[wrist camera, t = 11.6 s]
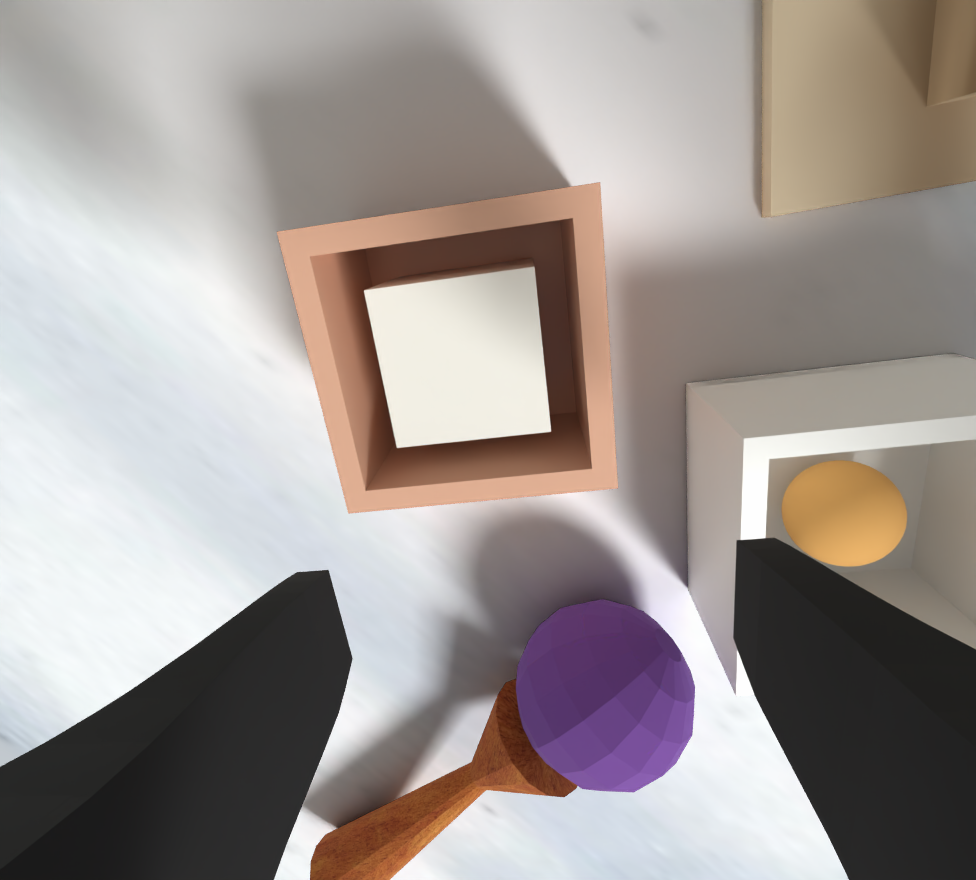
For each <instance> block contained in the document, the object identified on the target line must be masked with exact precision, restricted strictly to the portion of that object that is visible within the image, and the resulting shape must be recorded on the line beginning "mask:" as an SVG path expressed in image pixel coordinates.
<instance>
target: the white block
mask: <svg viewBox="0 0 976 880" xmlns="http://www.w3.org/2000/svg"><path fill="white" fill-rule="evenodd" d="M364 294H365V299H366V303H367V308H368V313H369V318H370V322H371V327H372V332H373V337H374V341H375V346H376V351H377V356H378V360H379V365H380V370H381V375H382V380H383V384H384V389H385V394H386V399H387V403H388V408H389V413H390V418H391V422H392V427H393V432H394V437H395V441H396V446H397V448H402V447H411V446H421V445H430V444H440V443H449V442H459V441H468V440H478V439H487V438H497V437H506V436H516V435H525V434H535V433H544V432H551V425H550V415H549V405H548V395H547V385H546V375H545V366H544V356H543V346H542V336H541V326H540V316H539V307H538V297H537V287H536V277H535V267H534V263H533V259H532V258H528V259H521V260H514V261H507V262H499V263H492V264H485V265H478V266H471V267H464V268H457V269H449V270H442V271H435V272H428V273H421V274H414V275H407V276H400V277H397V278H395V279H392V280H389V281H387V282H384V283H382V284H379V285H376V286H374V287H371V288H369V289H366V290H364Z"/></svg>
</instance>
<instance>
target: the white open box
mask: <svg viewBox="0 0 976 880" xmlns="http://www.w3.org/2000/svg"><path fill="white" fill-rule="evenodd" d="M686 431H687V543H688V591H689V593H690V595H691V597H692V600H693V602H694V604H695V606H696V608H697V611H698V613H699V615H700V617H701V619H702V622H703V624H704V626H705V628H706V631H707V633H708V635H709V637H710V639H711V642H712V644H713V646H714V648H715V650H716V653H717V655H718V657H719V659H720V662H721V664H722V666H723V668H724V670H725V673H726V675H727V677H728V679H729V681H730V684H731V686H732V688H733V690H734V693H735V695H736V696H742V695H754V692H753V690H752V687H751V685H750V682H749V679H748V677H747V674H746V672H745V669H744V666H743V664H742V661H741V658H740V655H739V653H738V650H737V647H736V644H735V642H734V639H733V629H734V599H735V570H736V541H737V540H746V539H760V538H777V539H779V540H780V541H782V542H784V543H786V544H788V545H790V546H792V547H793V548H795V549H797V550H799V551H800V552H802V553H804V554H806V555H807V556H809V557H811V556H810V555H808V554H807V553H805V552H804V551H803V550H801V549H800V548H799V547H798V546H797V545H796V544H795V543H794V541H793V540H792V539H791V537H790V536H789V534H788V532H787V531H786V528H785V526H784V523H783V519H782V509H781V507H782V500H783V496H784V494H785V491H786V489H787V487H788V486H789V484H790V483H791V482H792V480H793V479H794V478H795V477H796V476H797V475H798V474H800V473H801V472H802V471H804V470H805V469H807V468H809V467H811V466H813V465H816V464H818V463H822V462H826V461H834V460H845V461H853V462H858V463H861V464H864V465H867V466H870V467H872V468H874V469H876V470H877V471H879V472H881V473H882V474H884V475H885V476H886V477H887V478H889V479H890V480H891V481H892V482H893V483H894V485H895V486H896V487H897V489H898V490H899V491H900V493H901V495H902V497H903V500H904V502H905V505H906V510H907V524H906V529H905V532H904V535H903V537H902V539H901V540H900V542H899V543H898V545H897V546H896V547H895V548H894V549H893V550H892V551H891V552H890V553H889V554H888V555H886V556H885V557H883V558H881V559H880V560H877V561H875V562H872V563H869V564H866V565H861V566H850V567H847V566H836V565H832V564H828V563H825V562H822V561H819V560H817V559H815V558H813V557H811V558H812V559H814V560H816V561H817V562H819V563H821V564H823V565H824V566H826V567H828V568H829V569H831V570H833V571H834V572H836V573H838V574H839V575H841V576H843V577H845V578H846V579H848V580H850V581H851V582H853V583H855V584H857V585H858V586H860V587H862V588H863V589H865V590H867V591H869V592H870V593H872V594H874V595H876V596H877V597H879V598H881V599H883V600H884V601H886V602H888V603H890V604H891V605H893V606H895V607H897V608H899V609H900V610H902V611H904V612H906V613H908V614H910V615H911V616H913V617H915V618H917V619H919V620H921V621H922V622H924V623H926V624H928V625H930V626H932V627H934V628H936V629H938V630H940V631H942V632H943V633H945V634H947V635H949V636H951V637H953V638H955V639H957V640H959V641H961V642H963V643H965V644H967V645H969V646H971V647H973V648H974V649H976V360H975V359H972V358H969V357H965V356H962V355H958V354H955V353H951V354H942V355H934V356H925V357H916V358H907V359H898V360H889V361H880V362H871V363H862V364H853V365H844V366H835V367H826V368H817V369H809V370H800V371H791V372H782V373H773V374H764V375H755V376H746V377H737V378H728V379H719V380H710V381H701V382H692V383H686Z"/></svg>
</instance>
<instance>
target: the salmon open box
mask: <svg viewBox="0 0 976 880" xmlns="http://www.w3.org/2000/svg"><path fill="white" fill-rule="evenodd" d="M277 235H278V239H279V243H280V247H281V251H282V255H283V259H284V263H285V267H286V270H287V274H288V278H289V282H290V286H291V290H292V294H293V298H294V302H295V306H296V310H297V314H298V317H299V321H300V325H301V329H302V333H303V337H304V341H305V345H306V349H307V353H308V357H309V361H310V365H311V368H312V372H313V376H314V380H315V384H316V388H317V392H318V396H319V400H320V404H321V408H322V412H323V416H324V419H325V423H326V427H327V431H328V435H329V439H330V443H331V447H332V451H333V455H334V459H335V463H336V466H337V470H338V474H339V478H340V482H341V486H342V490H343V494H344V498H345V502H346V506H347V510H348V513H359V512H369V511H380V510H391V509H401V508H412V507H423V506H434V505H444V504H455V503H466V502H477V501H487V500H498V499H509V498H520V497H530V496H541V495H552V494H562V493H573V492H584V491H595V490H605V489H616V488H618V481H617V464H616V446H615V429H614V412H613V395H612V378H611V360H610V343H609V326H608V309H607V292H606V275H605V257H604V240H603V223H602V206H601V189H600V182H599V183H592V184H586V185H579V186H573V187H566V188H560V189H553V190H547V191H540V192H533V193H527V194H520V195H514V196H507V197H501V198H494V199H488V200H481V201H475V202H468V203H461V204H455V205H448V206H442V207H435V208H429V209H422V210H416V211H409V212H403V213H396V214H389V215H383V216H376V217H370V218H363V219H357V220H350V221H344V222H337V223H331V224H324V225H317V226H311V227H304V228H298V229H291V230H285V231H278V232H277ZM528 258H532V259H533V263H534V267H535V277H536V287H537V297H538V307H539V316H540V326H541V336H542V346H543V356H544V366H545V375H546V385H547V395H548V405H549V415H550V425H551V432H544V433H535V434H525V435H516V436H506V437H497V438H487V439H478V440H468V441H459V442H449V443H440V444H430V445H421V446H411V447H402V448H397V446H396V441H395V437H394V432H393V427H392V422H391V418H390V413H389V408H388V403H387V399H386V394H385V389H384V384H383V380H382V375H381V370H380V365H379V360H378V356H377V351H376V346H375V341H374V337H373V332H372V327H371V322H370V318H369V313H368V308H367V303H366V299H365V294H364V290H366V289H369V288H371V287H374V286H376V285H379V284H382V283H384V282H387V281H389V280H392V279H395V278H397V277H400V276H407V275H414V274H421V273H428V272H435V271H442V270H449V269H457V268H464V267H471V266H478V265H485V264H492V263H499V262H507V261H514V260H521V259H528Z"/></svg>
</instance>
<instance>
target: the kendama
mask: <svg viewBox="0 0 976 880" xmlns="http://www.w3.org/2000/svg"><path fill="white" fill-rule="evenodd" d="M694 698H695V685H694V681H693V678H692V674H691V671H690V669H689V667H688V665H687V663H686V661H685V659H684V657H683V655H682V653H681V651H680V650H679V648H678V647H677V645H676V644H675V642H674V641H673V639H672V638H671V637H670V636H669V635H668V634H667V633H666V631H665V630H664V629H663V628H662V627H661V626H660V625H659V624H658V623H657V622H656V621H655V620H654V619H653V618H651V617H650V616H649V615H647V614H646V613H645V612H643V611H641V610H639V609H636V608H634V607H631V606H627V605H624V604H620V603H616V602H612V601H609V600H605V599H600V600H595V601H590V602H586V603H581V604H576V605H572V606H567V607H562V608H560V609H559V610H557V611H556V612H555V613H554V614H552V615H551V616H550V617H549V618H547V619H546V620H545V621H544V622H543V623H541V624H540V625H539V626H538V627H537V629H536V630H535V632H534V633H533V635H532V636H531V638H530V639H529V641H528V643H527V645H526V648H525V650H524V652H523V654H522V657H521V659H520V661H519V664H518V666H517V679H514V680H511V681H508V682H506V683H505V685H504V686H503V688H502V689H501V691H500V692H499V694H498V696H497V698H496V701H495V703H494V706H493V709H492V711H491V714H490V716H489V719H488V721H487V724H486V727H485V729H484V732H483V734H482V737H481V739H480V742H479V745H478V747H477V750H476V752H475V755H474V757H473V760H472V762H471V763H469V764H467V765H465V766H463V767H461V768H459V769H457V770H455V771H453V772H451V773H449V774H447V775H445V776H442V777H440V778H438V779H436V780H434V781H432V782H430V783H428V784H426V785H424V786H422V787H420V788H418V789H416V790H414V791H412V792H410V793H408V794H406V795H404V796H402V797H400V798H398V799H396V800H394V801H392V802H390V803H388V804H386V805H384V806H382V807H380V808H378V809H376V810H374V811H372V812H370V813H368V814H366V815H364V816H362V817H360V818H358V819H356V820H354V821H352V822H350V823H348V824H346V825H344V826H342V827H340V828H338V829H336V830H334V831H332V832H330V833H328V834H326V835H325V836H324V837H323V838H322V840H321V841H320V842H319V843H318V845H317V846H316V848H315V851H314V854H313V857H312V860H311V870H310V880H390V879H391V878H392V877H393V876H394V875H395V874H396V873H397V872H398V871H399V870H401V869H402V868H403V867H404V866H405V865H406V864H407V863H408V862H409V861H410V860H411V859H412V858H413V857H415V856H416V855H417V854H418V853H419V852H420V851H421V850H422V849H423V848H424V847H425V846H426V845H427V844H429V843H430V842H431V841H432V840H433V839H434V838H435V837H436V836H437V835H438V834H439V833H440V832H441V831H443V830H444V829H445V828H446V827H447V826H448V825H449V824H450V823H451V822H452V821H453V820H454V819H455V818H457V817H458V816H459V815H460V814H461V813H462V812H463V811H464V810H465V809H466V808H467V807H468V806H469V805H471V804H472V803H473V802H474V801H475V800H476V799H477V798H478V797H479V796H480V795H481V794H482V793H483V792H485V791H486V790H493V791H504V792H514V793H525V794H535V795H546V796H557V797H565V796H567V795H568V794H569V793H571V792H572V791H573V790H575V789H576V788H577V786H579V787H580V788H582V789H588V790H598V791H616V792H635V791H637V790H639V789H640V788H642V787H644V786H646V785H647V784H649V783H651V782H653V781H654V780H656V779H658V778H660V777H661V776H663V775H664V774H665V773H666V772H667V771H668V770H669V769H670V768H672V767H673V766H674V765H675V764H676V762H677V761H678V759H679V757H680V755H681V754H682V752H683V750H684V748H685V747H686V745H687V743H688V741H689V740H690V738H691V736H692V730H693V718H694Z"/></svg>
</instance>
